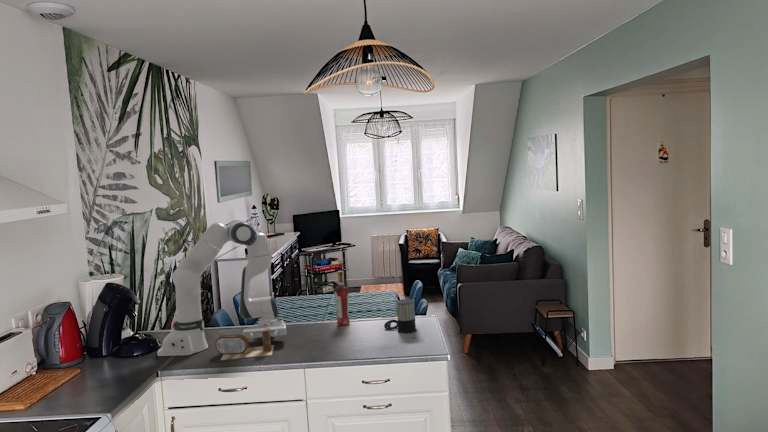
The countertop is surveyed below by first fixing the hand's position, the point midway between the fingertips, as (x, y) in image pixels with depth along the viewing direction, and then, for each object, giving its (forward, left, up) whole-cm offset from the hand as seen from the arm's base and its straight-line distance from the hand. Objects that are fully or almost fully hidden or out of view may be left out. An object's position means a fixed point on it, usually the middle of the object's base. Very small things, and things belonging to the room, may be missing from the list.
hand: (263, 336), depth 264 cm
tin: (-14, -4, -6) cm, 15 cm away
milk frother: (+65, +12, -6) cm, 66 cm away
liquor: (+38, +30, -6) cm, 49 cm away
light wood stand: (-7, -4, -6) cm, 10 cm away
